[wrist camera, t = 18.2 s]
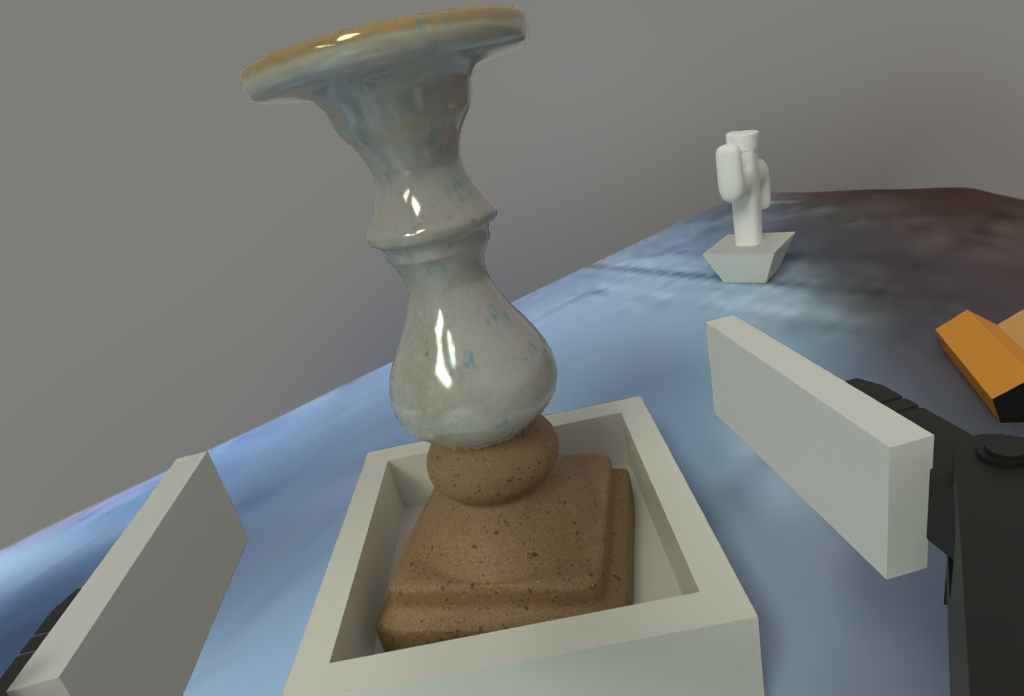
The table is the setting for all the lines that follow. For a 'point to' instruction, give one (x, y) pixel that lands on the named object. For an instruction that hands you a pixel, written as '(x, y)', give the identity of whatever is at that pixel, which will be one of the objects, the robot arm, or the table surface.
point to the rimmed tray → (553, 644)
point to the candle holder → (461, 343)
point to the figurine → (746, 214)
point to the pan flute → (989, 360)
